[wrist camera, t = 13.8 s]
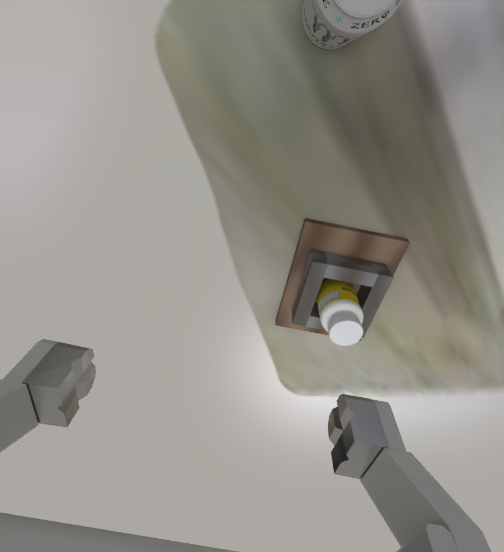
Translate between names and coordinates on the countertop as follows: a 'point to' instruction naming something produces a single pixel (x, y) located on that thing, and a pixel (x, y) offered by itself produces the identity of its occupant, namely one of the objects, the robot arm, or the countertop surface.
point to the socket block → (338, 271)
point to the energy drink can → (344, 19)
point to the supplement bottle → (340, 311)
